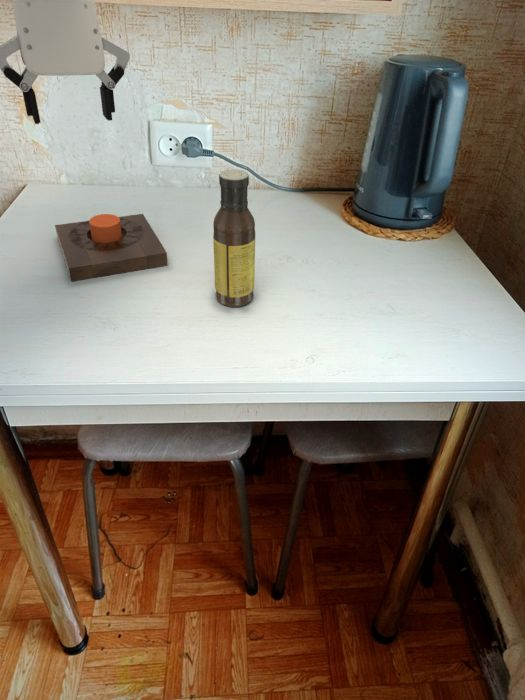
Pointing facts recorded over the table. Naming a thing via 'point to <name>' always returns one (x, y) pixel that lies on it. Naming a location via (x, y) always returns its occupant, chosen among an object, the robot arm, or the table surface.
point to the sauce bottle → (234, 241)
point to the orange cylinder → (105, 228)
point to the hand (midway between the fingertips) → (73, 119)
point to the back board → (110, 249)
